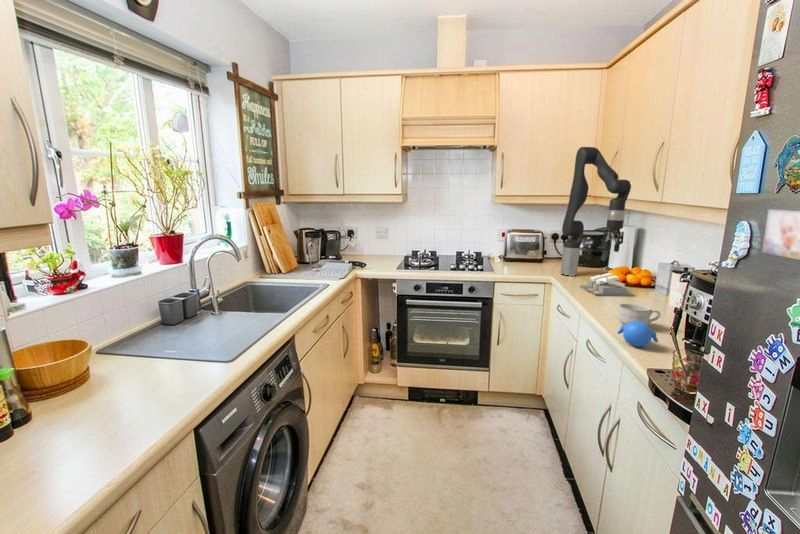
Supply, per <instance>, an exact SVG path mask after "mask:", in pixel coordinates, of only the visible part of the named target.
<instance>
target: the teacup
mask: <svg viewBox="0 0 800 534" xmlns="http://www.w3.org/2000/svg"><path fill="white" fill-rule="evenodd" d="M653 313H656V314H657V315H656V316H654V318H650V317H651V316H652V314H653ZM661 316H662V315H661V312H660V311H659V310H658V309H656V308H655V309H652V308H651V307H649V306H646V305H641V304H635V303H619V305H618V318H617V319H618V321H619V323H621V324H622V326H623V325H627V324H628V323H630V322H633V321H640V322H643V323H645V324H647V325H650V324H651V323H652V322H656V321H658V320H659V319H660V318H661Z"/></svg>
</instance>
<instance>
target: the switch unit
mask: <svg viewBox="0 0 800 534" xmlns="http://www.w3.org/2000/svg"><path fill="white" fill-rule="evenodd" d="M579 288H581V289H582V288H583V290H584V289H585V290H584V291H586V290H587V291H586V292H588V293H589V294H591V293H592V295H593V294H594V296H595V297H635V294H634V293H631V292H629V291H628V288H627V287H625V286H624V287H621V286H618V285H614V284H611V283H603V284H598V283H596V281H595V282H594V281H592V280H591V279H588V280H587V285H584V284H583V285H582V284H581V285H579Z"/></svg>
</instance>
